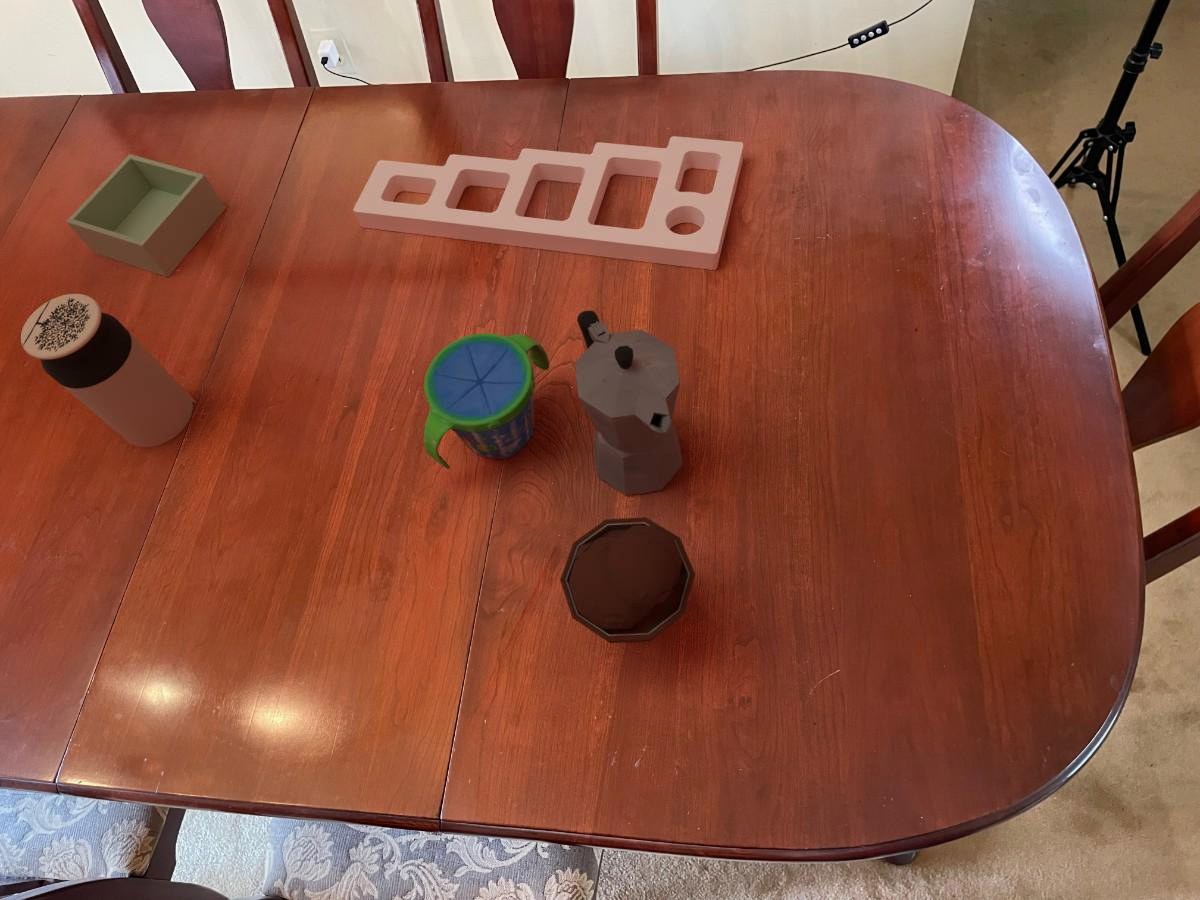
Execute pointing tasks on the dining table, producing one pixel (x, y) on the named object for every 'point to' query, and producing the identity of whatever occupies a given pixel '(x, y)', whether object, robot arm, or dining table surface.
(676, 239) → the holder
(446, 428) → the snack cup
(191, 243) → the bin
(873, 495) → the dining table surface
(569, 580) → the plant pot with soil
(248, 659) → the dining table surface
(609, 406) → the coffeepot
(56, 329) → the travel mug
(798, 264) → the dining table surface
